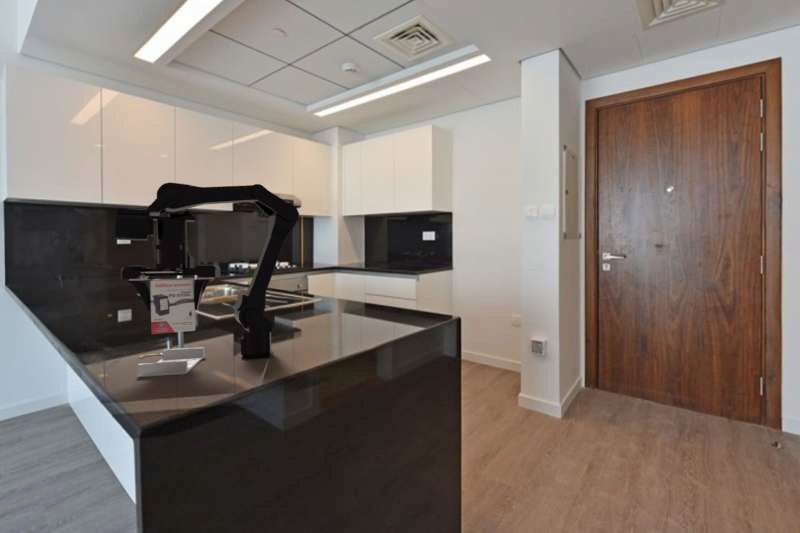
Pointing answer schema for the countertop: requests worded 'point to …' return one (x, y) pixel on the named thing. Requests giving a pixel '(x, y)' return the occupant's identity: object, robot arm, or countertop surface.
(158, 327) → the ink box
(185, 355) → the socket
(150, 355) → the key
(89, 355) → the countertop surface
